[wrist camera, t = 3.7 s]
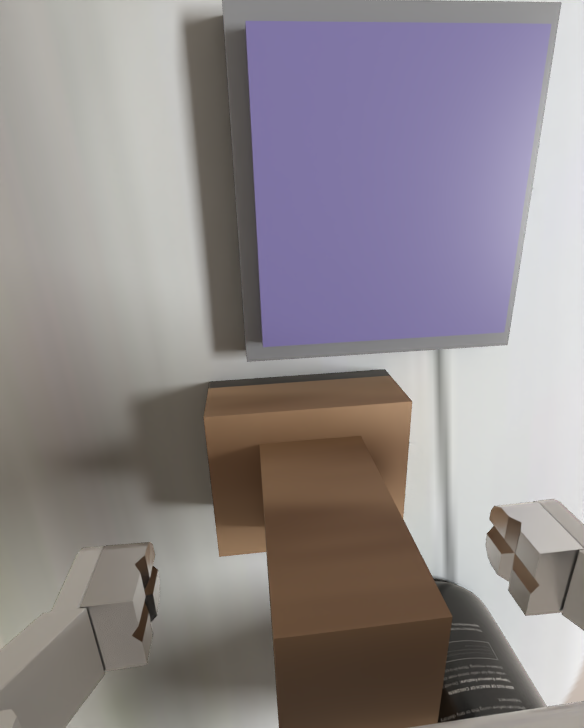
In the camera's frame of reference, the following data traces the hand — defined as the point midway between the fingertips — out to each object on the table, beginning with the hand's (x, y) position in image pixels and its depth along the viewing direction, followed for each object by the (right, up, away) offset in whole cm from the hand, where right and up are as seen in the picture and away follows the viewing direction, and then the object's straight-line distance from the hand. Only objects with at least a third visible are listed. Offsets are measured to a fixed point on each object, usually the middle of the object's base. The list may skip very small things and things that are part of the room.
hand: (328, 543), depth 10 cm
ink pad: (+2, +9, +3) cm, 10 cm away
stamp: (-1, +2, +5) cm, 6 cm away
